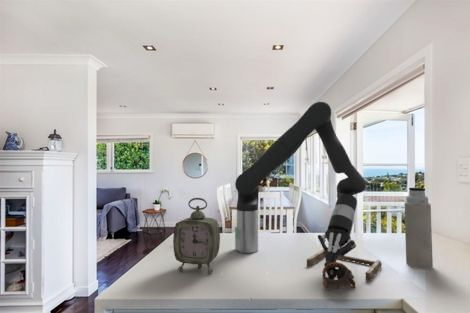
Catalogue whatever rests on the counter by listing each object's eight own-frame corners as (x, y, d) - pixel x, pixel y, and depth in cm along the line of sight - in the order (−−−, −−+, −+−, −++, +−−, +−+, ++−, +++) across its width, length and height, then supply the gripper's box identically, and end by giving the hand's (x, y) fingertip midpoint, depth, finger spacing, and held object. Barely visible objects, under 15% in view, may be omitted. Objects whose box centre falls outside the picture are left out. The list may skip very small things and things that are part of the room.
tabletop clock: (172, 273, 92) (173, 198, 93) (183, 263, 101) (184, 196, 102) (213, 276, 89) (213, 199, 90) (221, 266, 97) (221, 196, 99)
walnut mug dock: (324, 255, 110) (324, 248, 110) (381, 266, 97) (381, 259, 97) (306, 266, 98) (306, 259, 98) (369, 281, 84) (369, 273, 85)
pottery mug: (365, 293, 78) (359, 272, 75) (338, 311, 76) (330, 290, 73) (338, 268, 89) (332, 248, 86) (314, 283, 87) (307, 263, 85)
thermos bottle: (403, 260, 103) (401, 186, 105) (428, 262, 101) (425, 187, 102) (409, 267, 96) (407, 188, 97) (436, 270, 93) (433, 188, 94)
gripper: (320, 211, 99) (306, 254, 89) (359, 215, 91) (348, 263, 81) (326, 224, 103) (313, 266, 93) (363, 229, 95) (354, 275, 85)
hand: (329, 264), depth 87 cm, fingers closed
